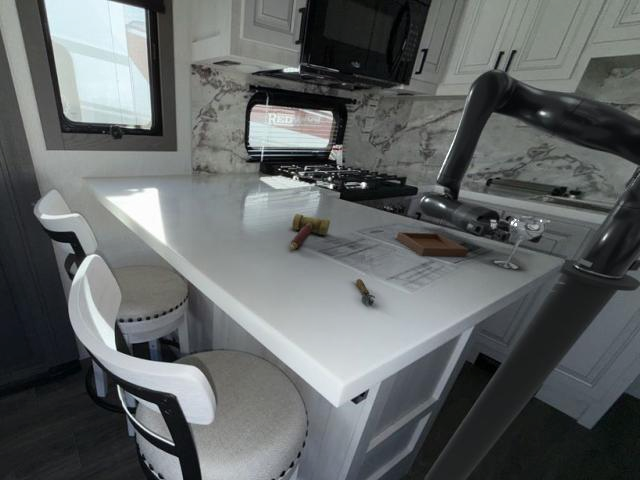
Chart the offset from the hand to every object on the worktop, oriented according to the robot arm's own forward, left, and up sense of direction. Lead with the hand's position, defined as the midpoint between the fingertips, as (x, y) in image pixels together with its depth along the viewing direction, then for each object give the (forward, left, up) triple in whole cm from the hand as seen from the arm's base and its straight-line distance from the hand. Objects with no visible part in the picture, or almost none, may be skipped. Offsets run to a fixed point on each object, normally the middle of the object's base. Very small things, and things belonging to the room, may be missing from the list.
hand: (523, 238), depth 74 cm
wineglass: (0, -1, -7) cm, 7 cm away
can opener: (+46, +15, -7) cm, 49 cm away
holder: (+14, -12, -7) cm, 20 cm away
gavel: (+50, -15, -7) cm, 53 cm away
